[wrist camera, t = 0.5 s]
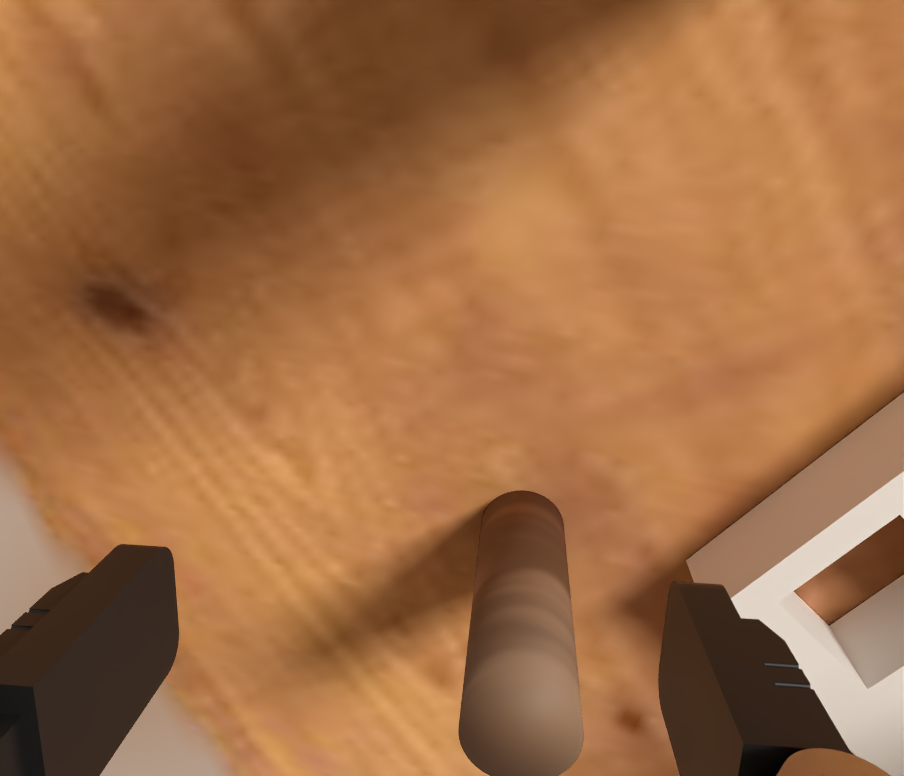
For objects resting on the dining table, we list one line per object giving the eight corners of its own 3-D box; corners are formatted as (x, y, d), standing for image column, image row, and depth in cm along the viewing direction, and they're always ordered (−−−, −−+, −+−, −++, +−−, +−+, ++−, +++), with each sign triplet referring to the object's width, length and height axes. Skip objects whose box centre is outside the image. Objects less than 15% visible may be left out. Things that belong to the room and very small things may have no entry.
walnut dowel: (522, 474, 32) (521, 662, 21) (581, 529, 33) (610, 739, 22) (464, 526, 34) (433, 731, 22) (521, 578, 34) (520, 802, 23)
